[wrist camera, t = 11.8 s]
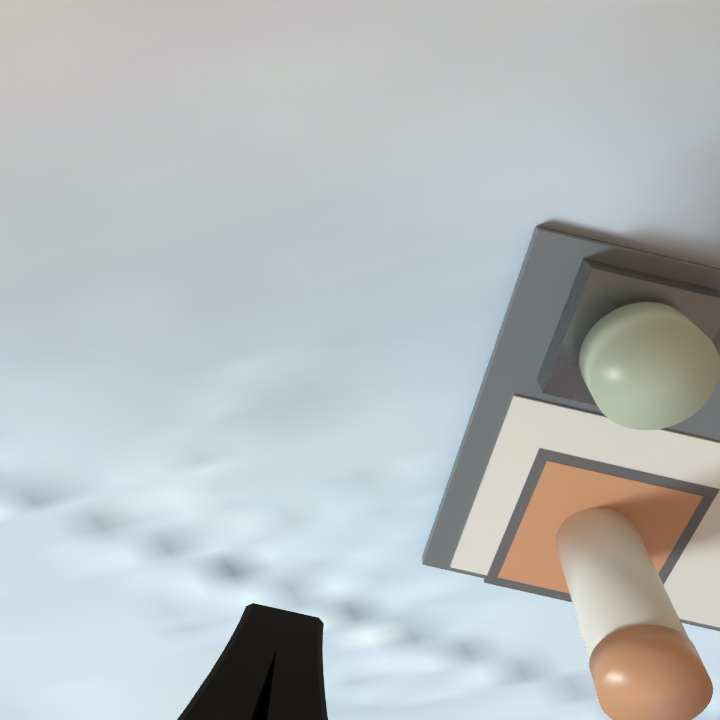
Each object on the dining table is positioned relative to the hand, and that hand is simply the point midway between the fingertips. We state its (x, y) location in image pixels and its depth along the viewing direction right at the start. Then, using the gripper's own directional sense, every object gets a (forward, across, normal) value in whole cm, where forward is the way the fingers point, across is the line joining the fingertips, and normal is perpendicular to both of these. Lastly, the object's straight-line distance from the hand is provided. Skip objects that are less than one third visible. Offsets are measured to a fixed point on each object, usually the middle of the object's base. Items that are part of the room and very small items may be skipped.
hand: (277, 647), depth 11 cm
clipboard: (+10, -12, 0) cm, 16 cm away
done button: (+10, -8, -4) cm, 13 cm away
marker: (+10, -10, +4) cm, 15 cm away
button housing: (+10, -8, -4) cm, 13 cm away
